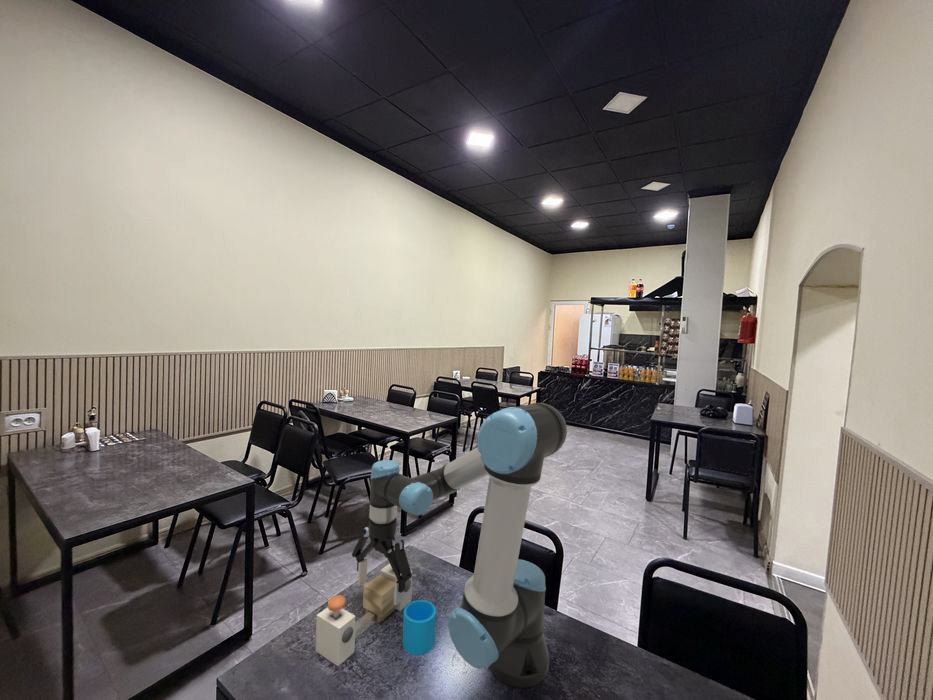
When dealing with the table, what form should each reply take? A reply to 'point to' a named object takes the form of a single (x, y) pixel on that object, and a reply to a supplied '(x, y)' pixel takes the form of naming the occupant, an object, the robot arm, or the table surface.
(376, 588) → the block
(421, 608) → the mug
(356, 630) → the rail
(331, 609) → the plunger
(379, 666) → the table surface
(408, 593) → the cabinet
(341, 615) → the cabinet
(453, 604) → the table surface
